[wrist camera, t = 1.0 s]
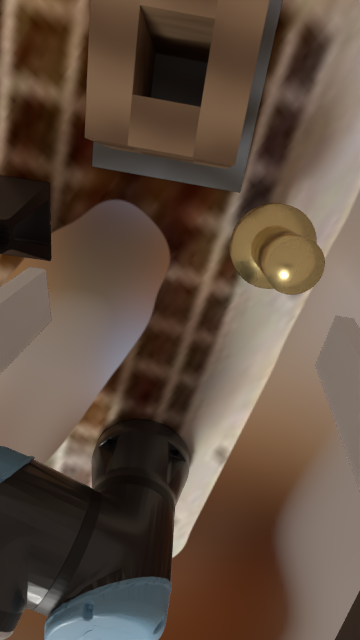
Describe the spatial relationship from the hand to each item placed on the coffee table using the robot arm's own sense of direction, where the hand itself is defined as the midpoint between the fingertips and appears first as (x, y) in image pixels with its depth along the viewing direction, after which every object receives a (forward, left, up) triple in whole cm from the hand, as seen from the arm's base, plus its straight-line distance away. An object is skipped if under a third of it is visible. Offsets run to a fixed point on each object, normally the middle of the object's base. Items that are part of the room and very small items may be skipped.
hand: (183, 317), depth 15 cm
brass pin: (+2, -7, -25) cm, 26 cm away
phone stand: (-1, +20, -26) cm, 32 cm away
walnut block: (+14, +4, -25) cm, 29 cm away
